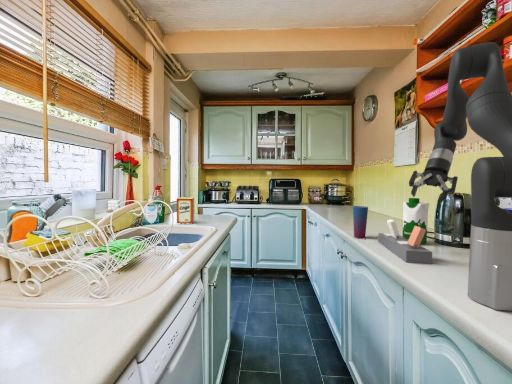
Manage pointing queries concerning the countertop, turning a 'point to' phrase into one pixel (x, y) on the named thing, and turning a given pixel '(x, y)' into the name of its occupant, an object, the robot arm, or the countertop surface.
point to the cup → (360, 221)
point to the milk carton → (415, 217)
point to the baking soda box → (185, 210)
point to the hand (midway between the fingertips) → (427, 198)
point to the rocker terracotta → (416, 236)
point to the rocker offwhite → (393, 228)
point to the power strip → (405, 249)
